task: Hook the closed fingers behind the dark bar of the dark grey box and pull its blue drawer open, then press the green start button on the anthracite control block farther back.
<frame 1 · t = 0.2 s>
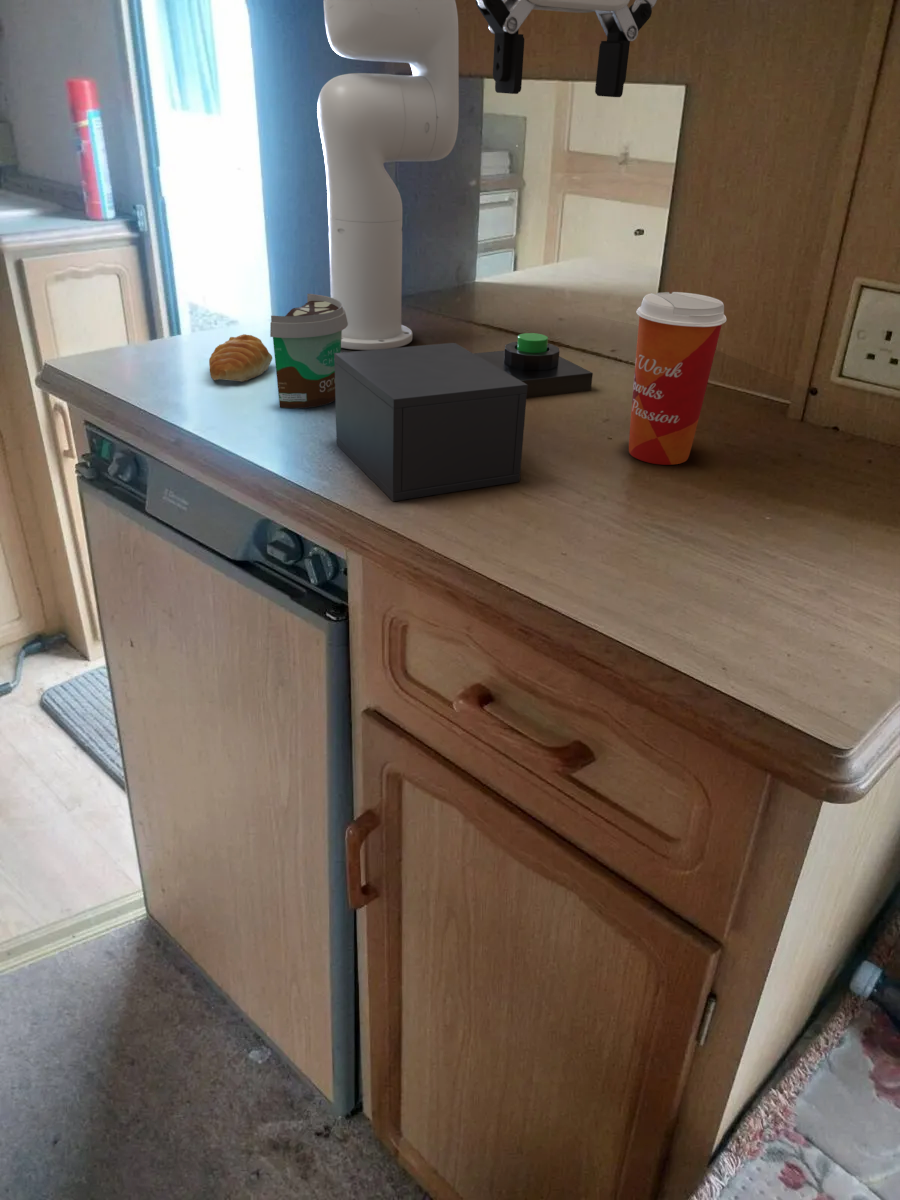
hand: (559, 94, 75), 31 cm above the counter, tool pointing down, fingers open, 9 cm apart
start button: (532, 344, 109), point 4 cm above the counter, slide at 0.1 cm
pastry: (240, 374, 110), on the counter
coffee cup: (658, 455, 91), on the counter
dark grey box: (424, 462, 87), on the counter
blue drawer: (404, 400, 88), point 5 cm above the counter, slide at 0.5 cm
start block: (529, 380, 111), on the counter
food container: (320, 399, 103), on the counter
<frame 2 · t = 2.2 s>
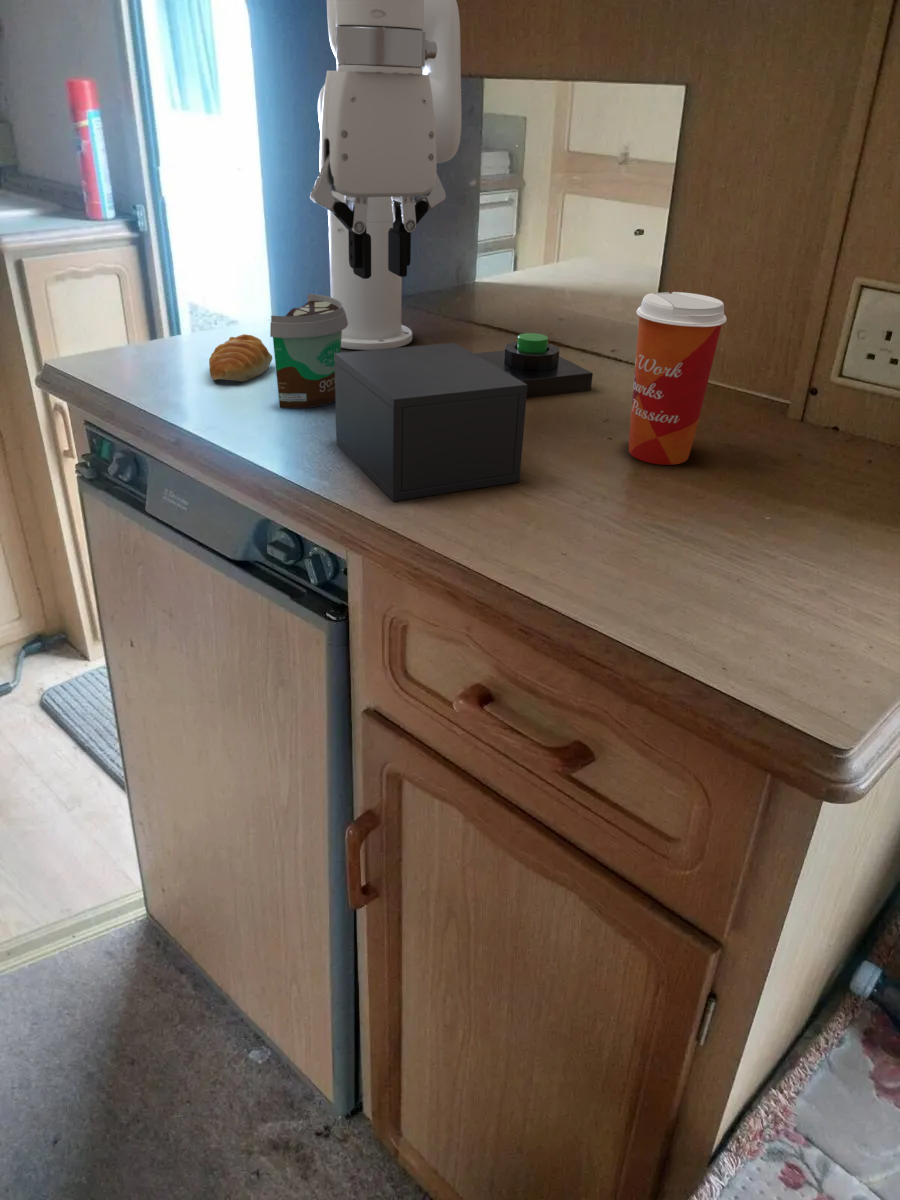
hand: (379, 273, 88), 15 cm above the counter, tool pointing down, fingers open, 3 cm apart
nothing on the counter moved.
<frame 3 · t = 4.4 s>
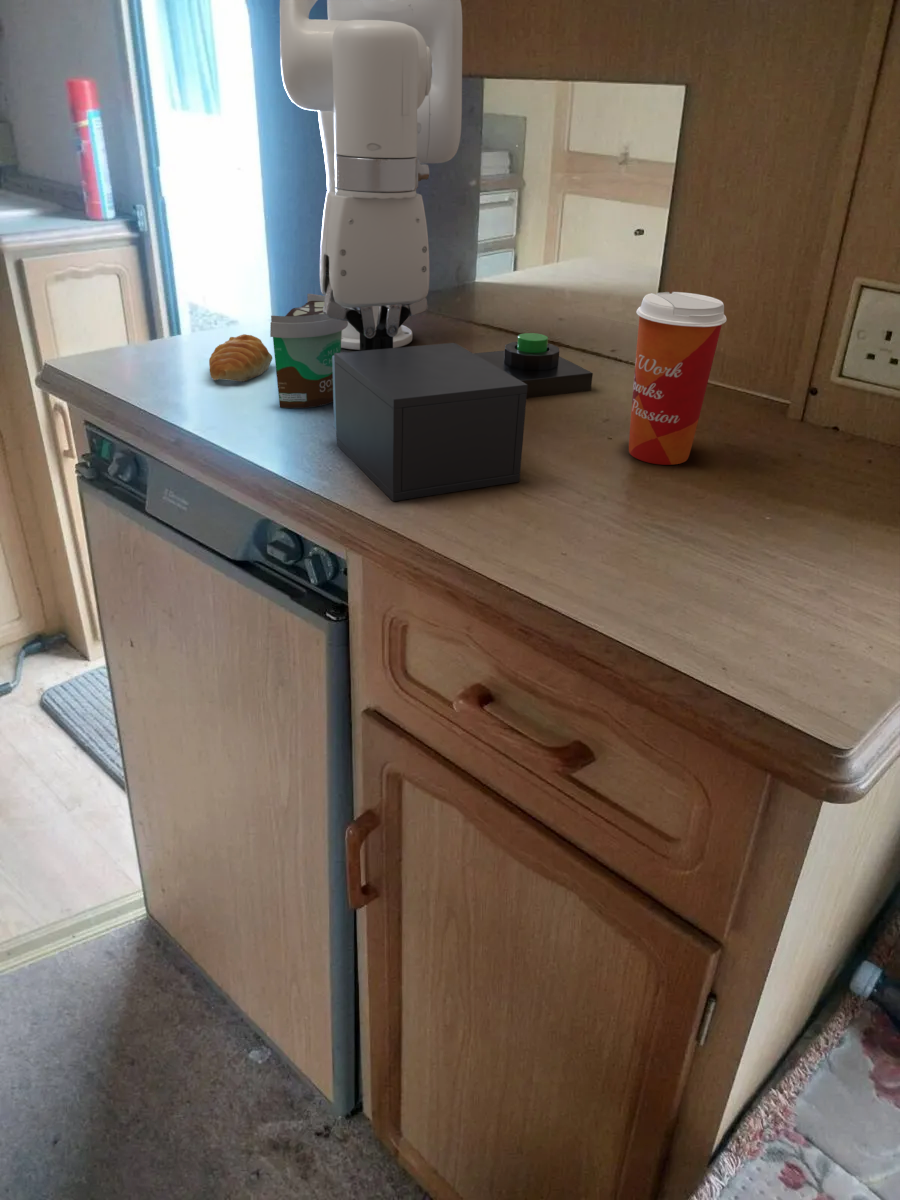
hand: (376, 373, 94), 5 cm above the counter, tool pointing down, fingers closed
blue drawer: (402, 398, 89), point 5 cm above the counter, slide at 1.2 cm
everything else where it was.
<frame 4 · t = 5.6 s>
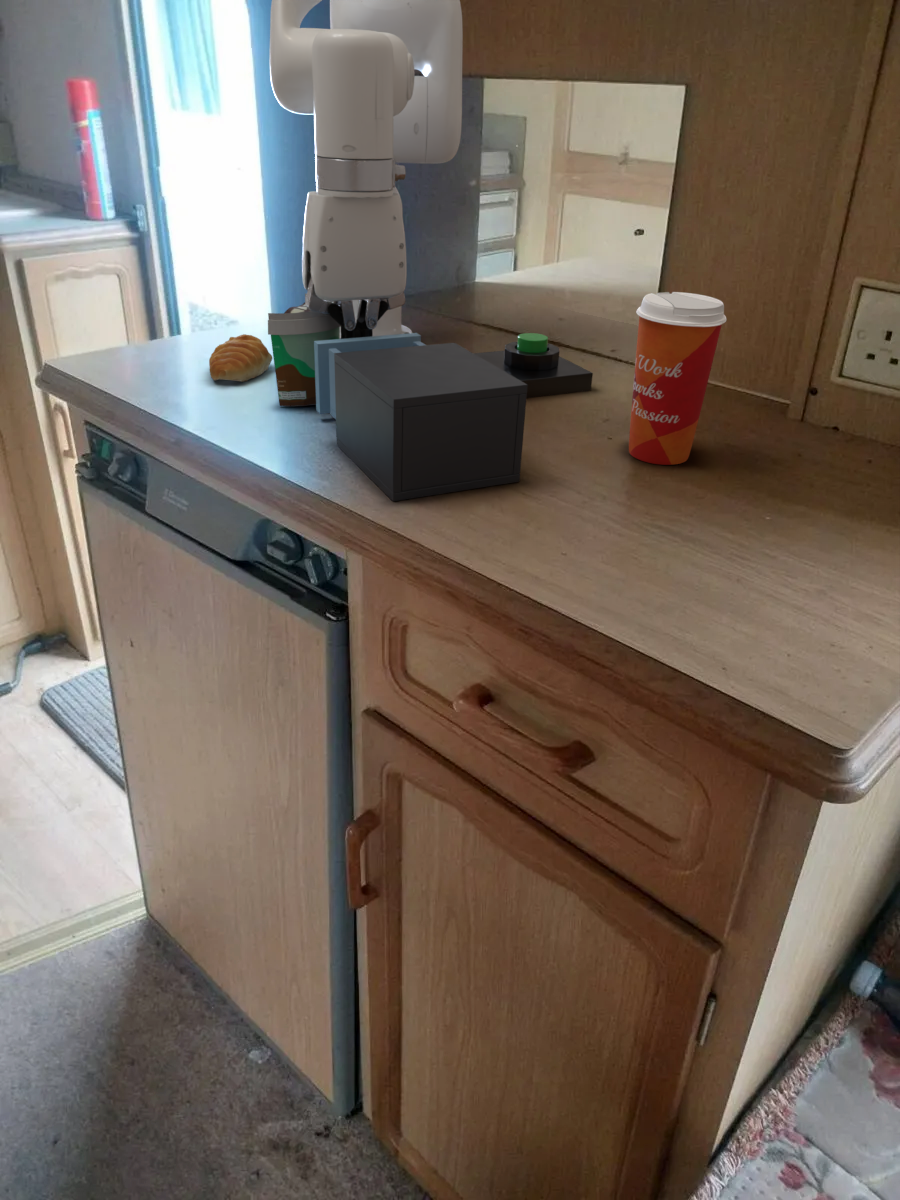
hand: (357, 364, 98), 5 cm above the counter, tool pointing down, fingers closed
blue drawer: (380, 382, 93), point 5 cm above the counter, slide at 6.8 cm
food container: (320, 397, 103), on the counter, touching gripper
everything else where it was.
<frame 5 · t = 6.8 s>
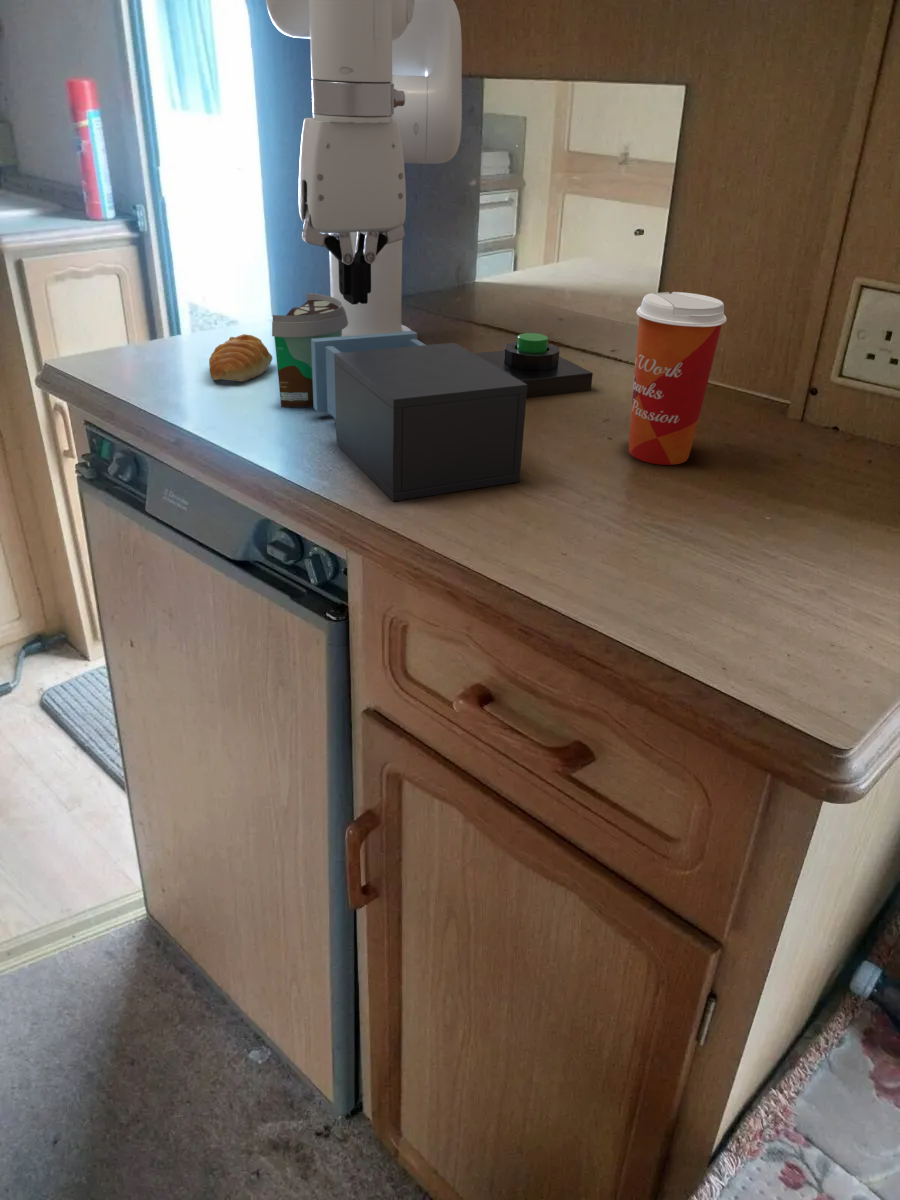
hand: (355, 300, 96), 11 cm above the counter, tool pointing down, fingers closed
blue drawer: (377, 379, 94), point 5 cm above the counter, slide at 7.7 cm
food container: (321, 398, 103), on the counter
everything else where it was.
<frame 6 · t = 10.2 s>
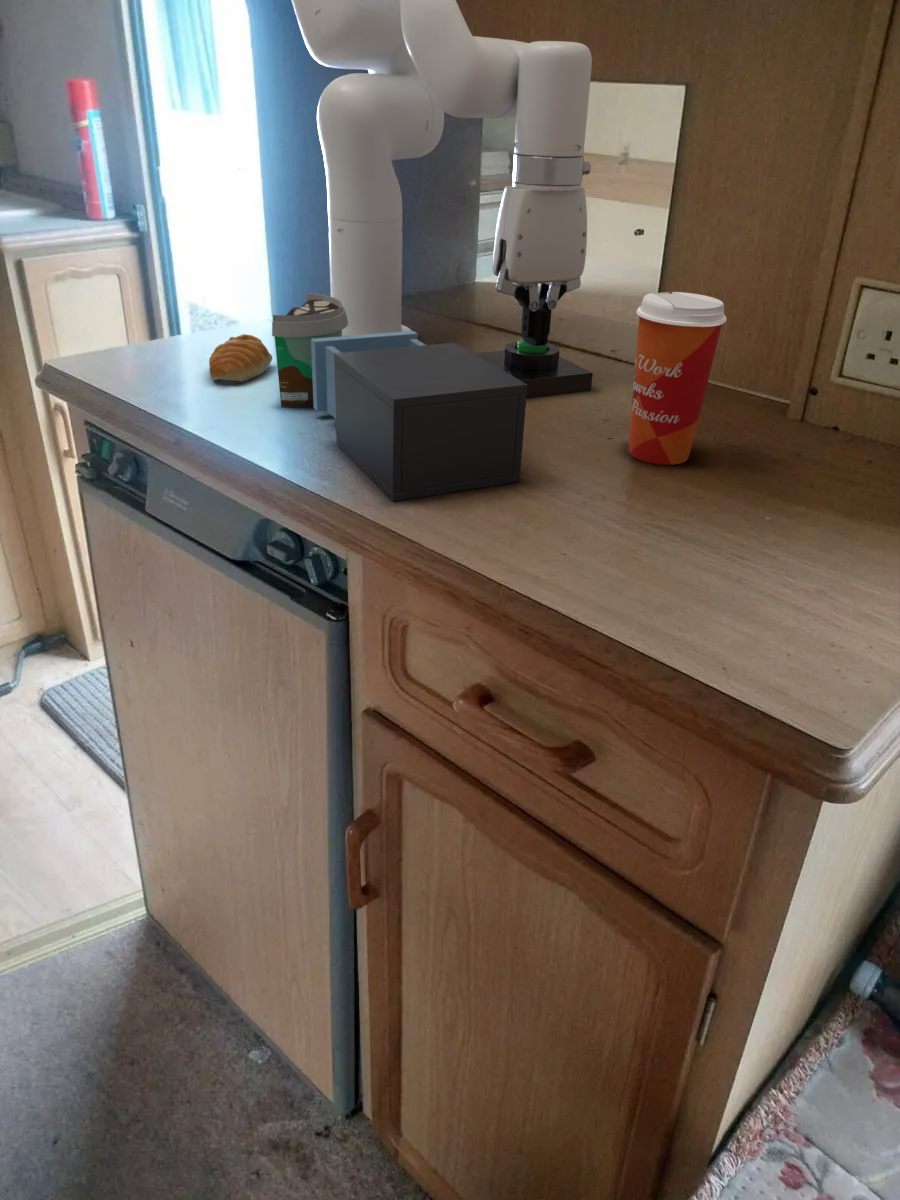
hand: (534, 342, 109), 5 cm above the counter, tool pointing down, fingers closed
start button: (532, 349, 109), point 4 cm above the counter, slide at -0.6 cm, touching gripper
everything else where it was.
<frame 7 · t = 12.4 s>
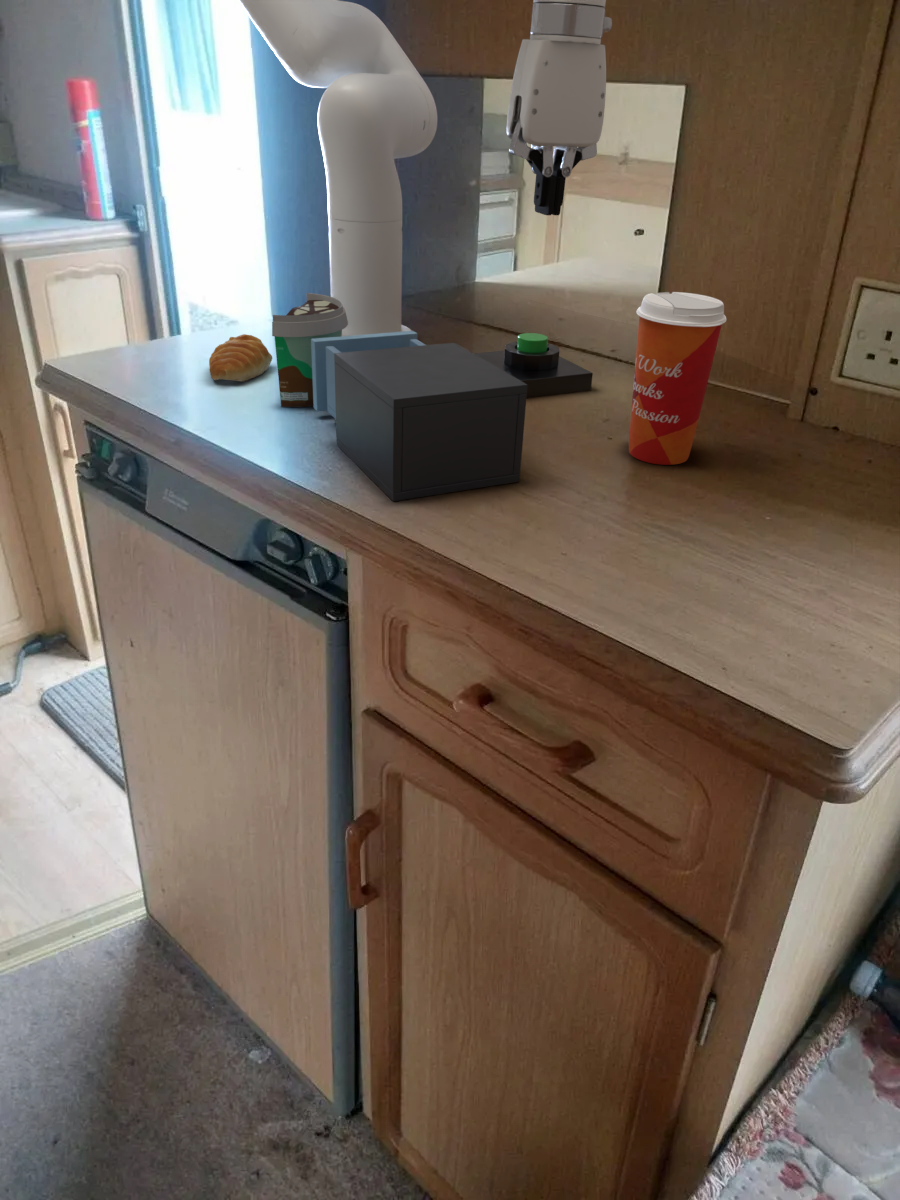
hand: (547, 213, 105), 19 cm above the counter, tool pointing down, fingers closed
start button: (532, 344, 109), point 4 cm above the counter, slide at 0.1 cm
everything else where it was.
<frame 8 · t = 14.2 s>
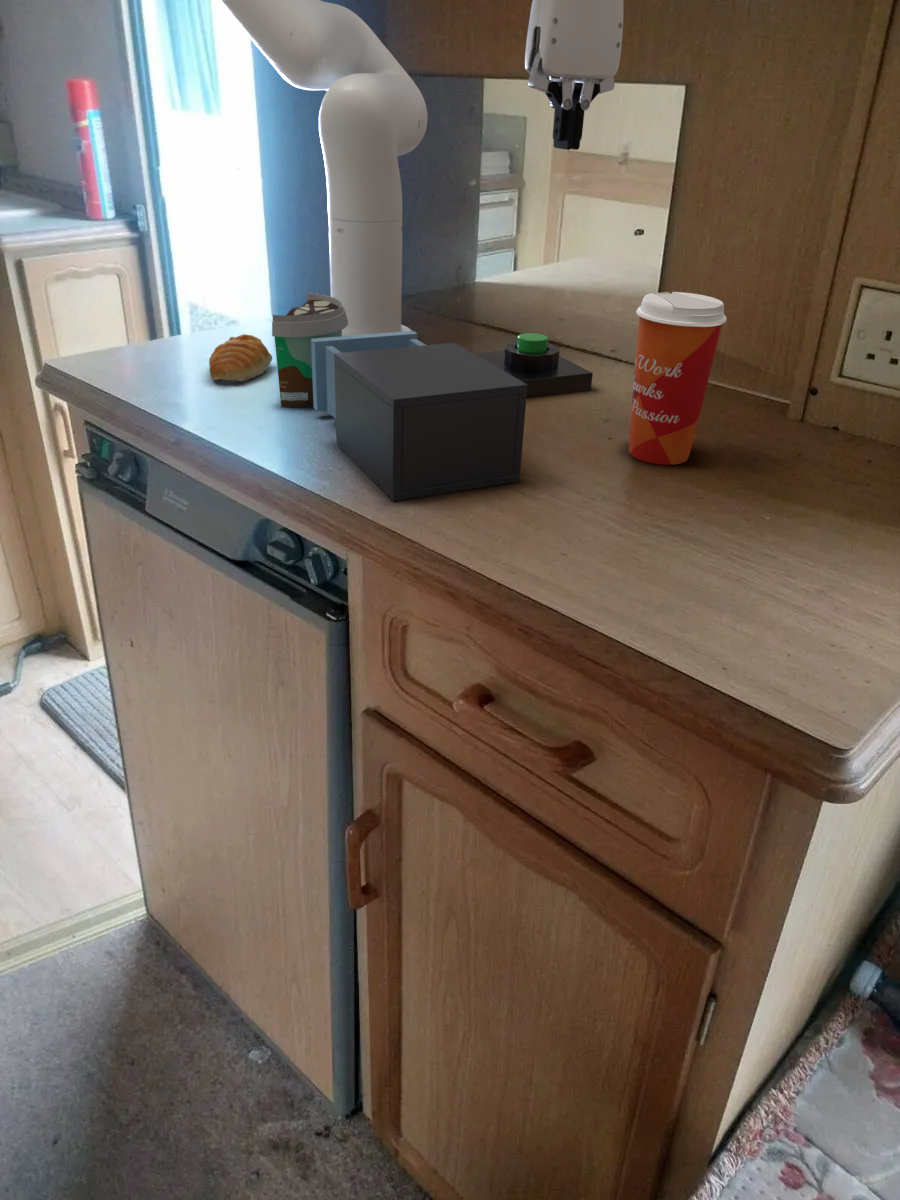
hand: (566, 148, 106), 25 cm above the counter, tool pointing down, fingers closed
nothing on the counter moved.
at the end: blue drawer slide at 7.7 cm; start button pushed in 1.1 cm at the most during the clip, back to where it started at the end; start button slide at 0.1 cm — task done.
